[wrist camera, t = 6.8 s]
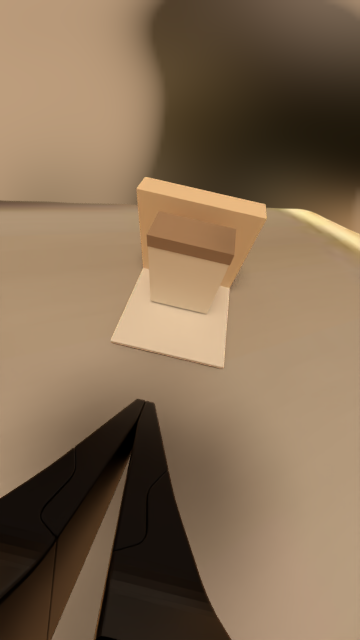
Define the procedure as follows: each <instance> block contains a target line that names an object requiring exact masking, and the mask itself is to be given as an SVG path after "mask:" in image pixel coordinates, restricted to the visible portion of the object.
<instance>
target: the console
mask: <svg viewBox="0 0 360 640" xmlns="http://www.w3.org/2000/svg"><path fill="white" fill-rule="evenodd" d="M137 200H138V212H139V223H140V235H141V247H142V258H143V270H142V272H141V274H140V276H139V278H138V281H137V283H136V285H135V287H134V290H133V292H132V294H131V296H130V298H129V301H128V303H127V305H126V307H125V309H124V312H123V314H122V316H121V318H120V321H119V323H118V325H117V327H116V329H115V332H114V334H113V336H112V338H111V343H115V344H119V345H124V346H128V347H132V348H136V349H141V350H145V351H149V352H153V353H157V354H162V355H166V356H170V357H174V358H178V359H183V360H187V361H191V362H195V363H199V364H204V365H208V366H212V367H216V368H220V369H222V368H224V356H225V343H226V330H227V316H228V303H229V290H230V286H231V285H232V283H233V281H234V279H235V277H236V275H237V273H238V271H239V270H240V268H241V266H242V264H243V262H244V260H245V258H246V257H247V255H248V253H249V251H250V249H251V247H252V245H253V243H254V242H255V240H256V238H257V236H258V234H259V232H260V230H261V228H262V227H263V225H264V223H265V221H266V219H267V216H266V207H265V204H261V203H257V202H252V201H248V200H244V199H239V198H235V197H230V196H226V195H222V194H218V193H213V192H209V191H205V190H200V189H196V188H192V187H187V186H183V185H178V184H174V183H170V182H165V181H161V180H156V179H152V178H148V177H145V178H144V179H143V180H142V182H141V183H140V185H139V186H138V187H137ZM158 211H160V212H165V213H169V214H173V215H178V216H182V217H186V218H191V219H195V220H199V221H204V222H208V223H212V224H217V225H221V226H225V227H230V228H234V229H236V240H235V255H234V257H233V260H232V262H231V264H230V265H229V267H228V269H227V271H226V273H225V276H224V278H223V280H222V282H221V284H220V286H219V289H218V291H217V293H216V295H215V297H214V300H213V302H212V304H211V306H210V308H209V311H208V313H207V314H205V313H201V312H196V311H192V310H188V309H184V308H179V307H175V306H171V305H167V304H162V303H158V302H154V301H151V299H150V279H149V259H148V246H147V233H148V231H149V229H150V227H151V225H152V223H153V221H154V219H155V217H156V215H157V213H158Z"/></svg>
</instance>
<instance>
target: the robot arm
mask: <svg viewBox="0 0 360 640" xmlns="http://www.w3.org/2000/svg"><path fill="white" fill-rule="evenodd" d="M130 455H131V456H130ZM129 457H130V461H129V466H128V471H127V476H126V481H125V486H124V491H123V496H122V501H121V506H120V511H119V516H118V521H117V526H116V530H115V535H114V540H113V545H112V550H111V555H110V560H109V565H108V570H107V575H106V580H105V585H104V590H103V595H102V600H101V605H100V610H99V615H98V620H97V625H96V630H95V635H94V640H231V638H230V637H229V635H228V633H227V632H226V630H225V628H224V627H223V625H222V624H221V622H220V620H219V618H218V617H217V615H216V613H215V611H214V609H213V607H212V605H211V603H210V601H209V599H208V596H207V594H206V591H205V589H204V586H203V584H202V581H201V578H200V575H199V572H198V569H197V566H196V563H195V560H194V557H193V554H192V551H191V547H190V544H189V541H188V538H187V535H186V532H185V529H184V526H183V523H182V520H181V517H180V513H179V510H178V507H177V503H176V500H175V496H174V492H173V488H172V484H171V479H170V474H169V471H168V465H167V461H166V456H165V451H164V446H163V441H162V437H161V432H160V427H159V422H158V418H157V413H156V408H155V404H154V403H153V402H149V401H146V402H145V400H141V399H136V400H135V401H134V402H132V403H131V404H130V405H128V406H127V407H126V408H124V409H123V410H122V411H121V412H119V413H118V414H117V415H115V416H114V417H113V418H112V419H110V420H109V421H108V422H106V423H105V424H104V425H102V426H101V427H100V428H99V429H97V430H96V431H95V432H93V433H92V434H91V435H89V436H88V437H87V438H86V439H84V440H83V441H82V442H80V443H79V444H78V445H77V446H75V448H72V449H71V450H70V451H69V452H67V453H66V454H65V455H63V456H62V457H61V458H59V459H58V460H57V461H55V462H54V463H53V464H51V465H50V466H48V467H47V468H46V469H44V470H43V471H41V472H40V473H38V474H37V475H35V476H34V477H32V478H31V479H29V480H28V481H26V482H25V483H23V484H22V485H20V486H19V487H17V488H15V489H14V490H12V491H11V492H9V493H8V494H6V495H5V496H3V497H2V498H0V640H51V639H52V636H53V634H54V632H55V629H56V627H57V625H58V622H59V620H60V618H61V615H62V613H63V611H64V608H65V606H66V604H67V602H68V599H69V597H70V595H71V592H72V590H73V588H74V585H75V583H76V581H77V578H78V576H79V574H80V571H81V569H82V567H83V564H84V562H85V560H86V557H87V555H88V553H89V550H90V548H91V546H92V544H93V541H94V539H95V537H96V534H97V532H98V530H99V527H100V525H101V523H102V520H103V518H104V516H105V513H106V511H107V509H108V506H109V504H110V502H111V499H112V497H113V495H114V492H115V490H116V488H117V485H118V483H119V481H120V479H121V476H122V474H123V472H124V469H125V467H126V465H127V462H128V460H129Z"/></svg>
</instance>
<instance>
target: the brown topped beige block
mask: <svg viewBox="0 0 360 640" xmlns="http://www.w3.org/2000/svg"><path fill="white" fill-rule="evenodd" d="M235 240H236V229H234V228H230V227H225V226H221V225H217V224H212V223H208V222H204V221H199V220H195V219H191V218H186V217H182V216H178V215H173V214H169V213H165V212H160V211H158V213H157V215H156V217H155V219H154V221H153V223H152V225H151V227H150V229H149V231H148V233H147V246H148V259H149V279H150V299H151V301H154V302H158V303H162V304H167V305H171V306H175V307H179V308H184V309H188V310H192V311H196V312H201V313H205V314H207V313H208V311H209V308H210V306H211V304H212V302H213V300H214V297H215V295H216V293H217V291H218V289H219V286H220V284H221V282H222V280H223V278H224V276H225V273H226V271H227V269H228V267H229V265H230V264H231V262H232V260H233V257H234V255H235Z"/></svg>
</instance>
